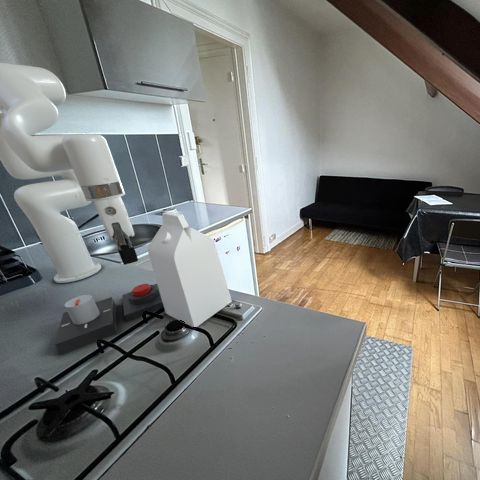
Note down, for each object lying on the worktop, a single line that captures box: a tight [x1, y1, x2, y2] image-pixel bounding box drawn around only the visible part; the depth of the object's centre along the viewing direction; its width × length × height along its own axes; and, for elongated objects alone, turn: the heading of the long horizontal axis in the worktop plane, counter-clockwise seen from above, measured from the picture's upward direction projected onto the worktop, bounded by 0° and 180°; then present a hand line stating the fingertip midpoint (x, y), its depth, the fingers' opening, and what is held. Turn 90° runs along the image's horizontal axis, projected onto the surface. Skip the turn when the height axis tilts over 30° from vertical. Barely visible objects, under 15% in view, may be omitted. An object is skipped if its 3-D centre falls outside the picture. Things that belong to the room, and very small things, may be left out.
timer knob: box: [64, 294, 100, 325], centre depth 62 cm, size 5×5×5 cm
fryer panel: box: [54, 296, 118, 356], centre depth 64 cm, size 14×10×3 cm
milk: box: [147, 211, 233, 328], centre depth 64 cm, size 12×12×26 cm
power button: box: [132, 283, 151, 297], centre depth 71 cm, size 4×4×2 cm
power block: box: [121, 283, 164, 322], centre depth 72 cm, size 12×10×4 cm
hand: (130, 260), depth 68 cm, fingers closed
